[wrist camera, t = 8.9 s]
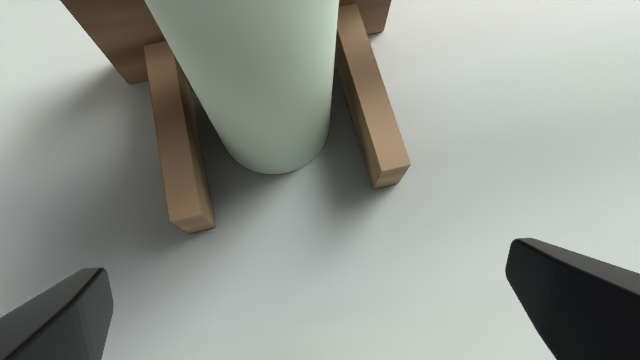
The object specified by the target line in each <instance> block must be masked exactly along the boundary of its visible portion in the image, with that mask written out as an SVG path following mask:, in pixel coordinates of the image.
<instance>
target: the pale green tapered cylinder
mask: <svg viewBox="0 0 640 360" xmlns="http://www.w3.org/2000/svg"><path fill="white" fill-rule="evenodd" d="M144 1H145V2H146V4H147V6H148V8H149V10H150V12H151V13H152V15H153V17H154V19H155V21H156V22H157V24H158V26H159V28H160V30H161V32H162V33H163V35H164V37H165V39H166V41H167V42H168V44H169V46H170V48H171V50H172V52H173V53H174V55H175V57H176V59H177V61H178V62H179V64H180V66H181V68H182V70H183V72H184V73H185V75H186V77H187V79H188V81H189V82H190V84H191V86H192V88H193V90H194V92H195V93H196V95H197V97H198V99H199V101H200V102H201V104H202V106H203V108H204V110H205V112H206V113H207V115H208V117H209V119H210V121H211V122H212V124H213V126H214V128H215V130H216V132H217V133H218V135H219V137H220V139H221V141H222V142H223V144H224V146H225V148H226V149H227V151H228V153H229V154H230V155H231V156H232V158H233V159H235V160H236V161H237V162H238V163H239V164H241V165H242V166H244V167H246V168H247V169H249V170H252V171H255V172H258V173H263V174H271V175H272V174H284V173H288V172H292V171H295V170H297V169H299V168H301V167H303V166H305V165H306V164H308V163H309V162H310V161H312V160H313V159H314V158H315V157H316V156H317V155H318V153H319V152H320V151H321V149H322V147H323V146H324V144H325V142H326V139H327V136H328V132H329V123H330V110H331V97H332V84H333V71H334V58H335V45H336V32H337V19H338V7H339V0H144Z"/></svg>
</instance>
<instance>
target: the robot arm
mask: <svg viewBox="0 0 640 360" xmlns="http://www.w3.org/2000/svg"><path fill="white" fill-rule="evenodd" d="M505 271H506V277H507V280H508V281H509V283H510V285H511V287H512V288H513V290H514V292H515V294H516V295H517V297H518V299H519V301H520V302H521V304H522V306H523V308H524V309H525V311H526V313H527V315H528V316H529V318H530V320H531V322H532V323H533V325H534V327H535V328H536V330H537V332H538V333H539V335H540V336H541V338H542V339H543V341H544V342H545V344H546V345H547V347H548V348H549V349H550V351H551V352H552V354H553V355H554V357H555V358H556V359H557V360H640V274H639V273H636V272H633V271H630V270H627V269H624V268H621V267H618V266H615V265H612V264H609V263H606V262H603V261H600V260H597V259H594V258H591V257H588V256H585V255H582V254H579V253H576V252H573V251H570V250H567V249H564V248H561V247H558V246H555V245H552V244H549V243H546V242H542V241H539V240H536V239H533V238H519V239H515V240H513V241H512V243H511V246H510V250H509V255H508V259H507V264H506V269H505ZM112 313H113V299H112V293H111V288H110V283H109V278H108V273H107V271H106V270H105V269H104V268H101V267H100V268H85V269H82V270H80V271H78V272H76V273H75V274H73V275H71V276H70V277H68V278H66V279H65V280H63V281H61V282H60V283H58V284H56V285H55V286H53V287H51V288H50V289H48V290H46V291H45V292H43V293H41V294H40V295H38V296H36V297H35V298H33V299H31V300H30V301H28V302H26V303H24V304H23V305H21V306H19V307H18V308H16V309H14V310H13V311H11V312H9V313H8V314H6V315H4V316H3V317H1V318H0V360H101V358H102V354H103V350H104V346H105V342H106V338H107V334H108V330H109V326H110V322H111V318H112Z"/></svg>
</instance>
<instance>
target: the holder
mask: <svg viewBox="0 0 640 360" xmlns="http://www.w3.org/2000/svg"><path fill="white" fill-rule="evenodd" d="M60 1H61V2H62V3H63V4H64V5H65V7H66V8H67V9H68V10H69V12H70V13H71V14H72V15H73V16H74V18H75V19H76V20H77V21H78V23H79V24H80V25H81V26H82V28H83V29H84V30H85V31H86V32H87V34H88V35H89V36H90V37H91V39H92V40H93V41H94V42H95V43H96V45H97V46H98V47H99V48H100V50H101V51H102V52H103V53H104V55H105V56H106V57H107V58H108V59H109V61H110V62H111V63H112V64H113V66H114V67H115V68H116V69H117V71H118V72H119V73H120V74H121V75H122V77H123V78H124V79H125V80H126V82H127V83H128V84H131V83H136V82H141V81H146V80H149V86H150V92H151V99H152V106H153V113H154V120H155V126H156V133H157V140H158V147H159V154H160V160H161V167H162V174H163V181H164V188H165V194H166V201H167V208H168V215H169V221H170V222H171V223H172V224H174V225H175V226H177V227H179V228H180V229H182V230H183V231H185V232H187V233H188V234H189V233H193V232H197V231H202V230H206V229H210V228H214V227H216V225H215V220H214V214H213V209H212V203H211V198H210V192H209V186H208V181H207V175H206V170H205V164H204V159H203V153H202V148H201V142H200V136H199V131H198V125H197V120H196V114H195V109H194V103H193V98H192V92H191V86H190V82H189V81H188V79H187V77H186V75H185V73H184V72H183V70H182V68H181V66H180V64H179V62H178V61H177V59H176V57H175V55H174V53H173V52H172V50H171V48H170V46H169V44H168V42H167V41H166V39H165V37H164V35H163V33H162V32H161V30H160V28H159V26H158V24H157V22H156V21H155V19H154V17H153V15H152V13H151V12H150V10H149V8H148V6H147V4H146V2H145V1H144V0H60ZM390 3H391V0H339V7H338V19H337V32H336V45H335V58H334V61H335V64H336V67H337V71H338V74H339V77H340V81H341V84H342V87H343V90H344V94H345V97H346V100H347V104H348V107H349V110H350V114H351V117H352V120H353V124H354V127H355V130H356V134H357V137H358V140H359V143H360V147H361V150H362V153H363V157H364V160H365V163H366V167H367V170H368V173H369V177H370V180H371V183H372V186H373V189H376V188H380V187H384V186H388V185H392V184H397V183H399V182H400V180H401V179H402V177H403V176H404V174H405V172H406V171H407V169H408V168H409V166H410V165H411V164H410V161H409V158H408V155H407V152H406V149H405V146H404V143H403V140H402V137H401V134H400V131H399V128H398V125H397V122H396V119H395V116H394V113H393V110H392V107H391V104H390V101H389V98H388V95H387V92H386V90H385V87H384V84H383V81H382V78H381V75H380V72H379V69H378V66H377V63H376V60H375V57H374V54H373V51H372V48H371V45H370V42H369V39H368V36H367V35H368V34H372V33H377V32H382V31H384V27H385V23H386V19H387V15H388V11H389V7H390Z"/></svg>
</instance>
